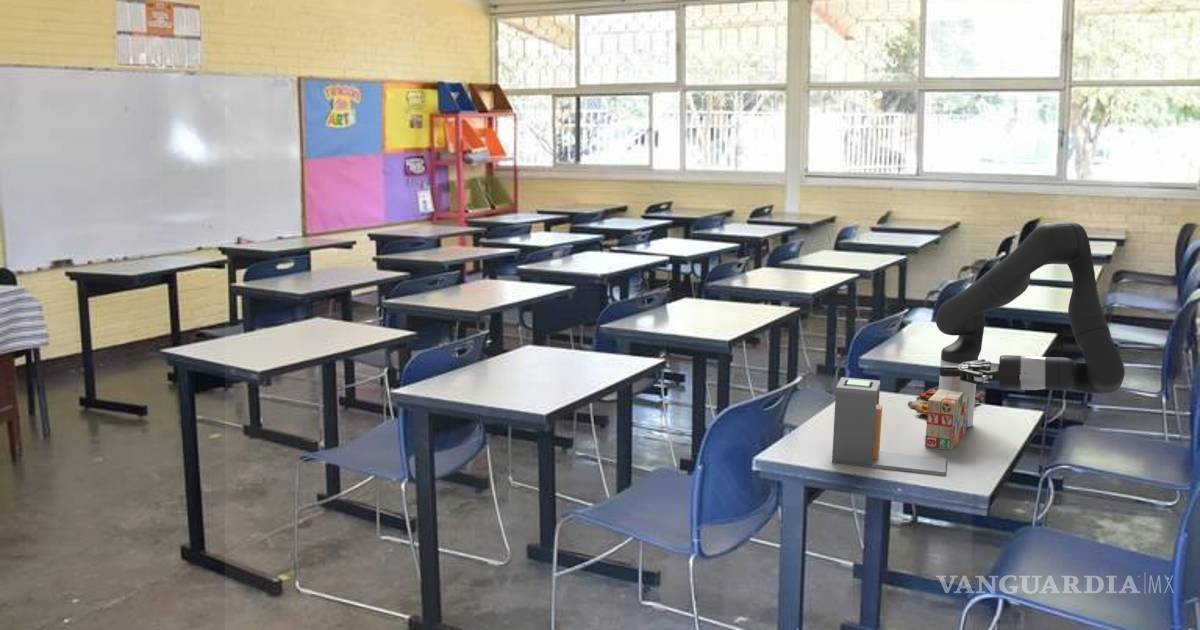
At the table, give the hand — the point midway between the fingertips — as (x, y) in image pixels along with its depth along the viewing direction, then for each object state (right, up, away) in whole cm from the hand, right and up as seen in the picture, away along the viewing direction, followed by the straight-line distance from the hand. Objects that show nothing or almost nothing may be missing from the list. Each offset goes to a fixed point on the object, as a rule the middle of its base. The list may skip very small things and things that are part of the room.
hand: (940, 370), depth 234 cm
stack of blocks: (+10, -19, +27) cm, 34 cm away
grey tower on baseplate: (-10, -22, +6) cm, 25 cm away
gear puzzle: (+19, -13, +58) cm, 62 cm away
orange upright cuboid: (-16, -21, +8) cm, 28 cm away
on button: (-17, -8, +7) cm, 20 cm away
